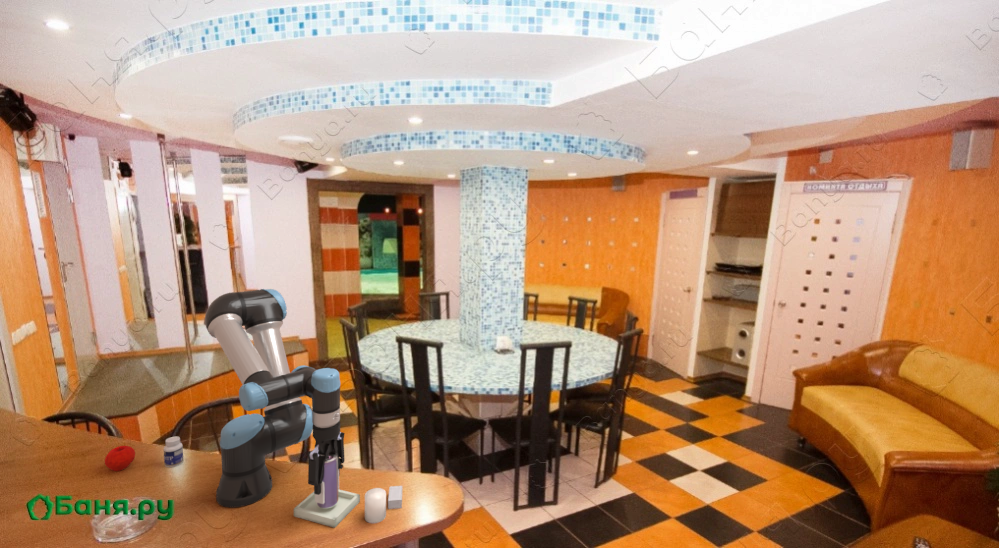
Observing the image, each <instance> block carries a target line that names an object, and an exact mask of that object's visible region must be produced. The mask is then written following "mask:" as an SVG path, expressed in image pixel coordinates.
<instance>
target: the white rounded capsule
mask: <svg viewBox="0 0 999 548" xmlns="http://www.w3.org/2000/svg"><path fill="white" fill-rule="evenodd" d="M386 517H387V491H386V490H385V489H384V488H381V487H373V488H371V489H369V490H367V491H366V492H365V494H364V520H365V521H366V522H367V523H369V524H378V523H380V522H383V520H385V518H386Z"/></svg>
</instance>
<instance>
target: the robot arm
mask: <svg viewBox="0 0 999 548" xmlns="http://www.w3.org/2000/svg"><path fill="white" fill-rule="evenodd" d="M287 310H288V309H287V303H286V301H285V299H284V297H283V295H282V294H281V293H280V292H279V291H278V290H276V289H274V288H273V289H272V288H267V289H264V288H260V289H256V290H247V291H236V292H235V291H233V292H227V293H224V294H222V295H220V296H218V297H217V298H215V299H214V300H213V301H212V302H210V305H209V306H208V308H207V309H206V312H205V316H204V325H205V328H206V330H207V332H208V334H209V335H210V336H211V337H212V338H215V339H216V340H217V342H218V344H219V345H220V347H221V349H222V351H223V353H224V355H225V356H226V358H227V359H228V361H229V363H230V365H231V367H232V369H233V371H234V373H235V374H236V376H237V378H238V380H240V382H241V384H242V385H241V386H240V388H239V390H238V398H239V402H240V405H241V407H242V408H243V410H245V411H247V412H250V411H256V410H260V409H263V412H264V416H263V415H261V414H260V413H251V414H249V413H247V414H244V415H240V416H238V417H235V418H233V419H231V420H230V421H228V422H227V423H226V424H225V425H224V426H222V427H223V428H221V432H220V439H219V446H220V457H221V476H220V478H219V479H220V480H219V483H218V486H217V489H216V492H215V494H216V497H215V498H216V503H217V504H218V505H219V506H220V507H225V508H240V507H245V506H249V505H252V504H254V503H256V502H258V501H261V500H262V499H263V498H265V497H266V496H268V494H269V493H270V492H271V491H272V488H273V479H272V476H271V475H272V474H271V473H270V471H269V468H268V466H267V464H266V455H269V454H271V453H274V452H277V451H280V450H283V449H285V448H287V447H291V446H293V445H297V444H299V443H301V442H303V441H306V440H307V439H309V437H310V436H311V435H312V437H313V439H314V440H315V443H314V449H313V450H312V451H307V458H308V465H307V466H308V471H307V473H308V475H307V484H308V485H309V486H310V485H311V486H313V492H314V494H315V502H317V503H320V504H324V503H325V486H324V482H323V481H322V480H323V475H324V465H325V462H326V459H328V455H329V453H332V454H335V453H336V454H337V457H338V490H340V475H341V474H340V472H341V471H340V470H342V469H343V468H344V465H343V464H344V463H345V459H346V458H345V444H344V442H345V441H344V439H345V432H341V421H340V420H341V379H340V372H339V371H338V370H337V369H336V368H331V367H324V368H318V369H316V368H314V367H311V366H308V365H299V366H297V367H296V368H294V369H293V370H292V371H290V366H289V363H288V358H287V355H286V350H285V346H284V342H283V341H284V340H283V338H282V334H281V330H280V329H281V328H282V326H283V324H284V322H283V320H285V319H286V317H287V313H288V312H287ZM243 327H244V328H243ZM248 334H249V335H250V336H251V337H252V341H253V342H252V341H251V339H250V338H249V336H248ZM304 396H306V397H308V398H309V399H311V406H312V407H311V406H310V405H309V404H307V403H303V399H302V398H301V397H304ZM311 408H312V409H311ZM320 454H321V455H320ZM323 455H324V456H323Z"/></svg>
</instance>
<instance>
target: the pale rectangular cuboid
mask: <svg viewBox="0 0 999 548" xmlns="http://www.w3.org/2000/svg"><path fill="white" fill-rule="evenodd" d="M387 498H388V499H387V510H392V509H393V510H394V509H402V508H403V485H394V486H393V485H391V486H389V489H388V497H387Z"/></svg>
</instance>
